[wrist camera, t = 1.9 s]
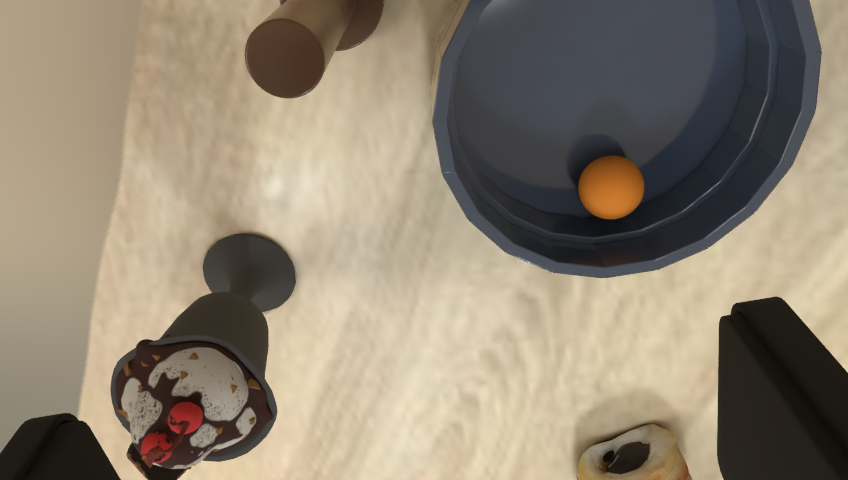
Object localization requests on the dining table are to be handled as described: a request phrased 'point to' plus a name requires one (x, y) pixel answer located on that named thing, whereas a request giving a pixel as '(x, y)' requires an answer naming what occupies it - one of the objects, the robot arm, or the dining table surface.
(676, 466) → the pastry
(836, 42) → the dining table surface
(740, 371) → the robot arm
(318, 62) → the brown flanged wooden cylinder
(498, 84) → the bowl
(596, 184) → the orange ball
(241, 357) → the sundae
